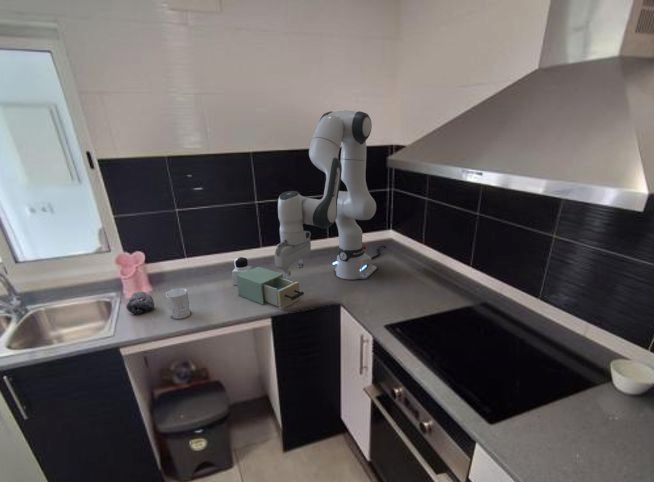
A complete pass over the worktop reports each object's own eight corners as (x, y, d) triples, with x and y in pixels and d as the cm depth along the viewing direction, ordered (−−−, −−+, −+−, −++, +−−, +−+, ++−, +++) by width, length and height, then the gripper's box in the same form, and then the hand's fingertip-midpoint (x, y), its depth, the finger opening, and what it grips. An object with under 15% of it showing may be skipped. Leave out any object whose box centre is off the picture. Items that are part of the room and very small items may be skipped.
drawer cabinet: (284, 294, 168) (282, 274, 164) (263, 304, 160) (260, 283, 155) (260, 285, 177) (258, 266, 172) (239, 295, 168) (236, 275, 163)
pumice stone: (141, 322, 152) (161, 306, 158) (131, 308, 147) (152, 292, 153) (126, 315, 157) (146, 300, 162) (116, 301, 152) (137, 286, 157)
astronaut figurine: (253, 279, 183) (250, 256, 177) (248, 285, 177) (245, 261, 171) (239, 279, 183) (235, 255, 178) (233, 285, 177) (230, 261, 171)
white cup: (171, 312, 154) (165, 290, 150) (191, 309, 157) (186, 286, 152) (171, 321, 148) (165, 298, 143) (192, 317, 150) (187, 294, 146)
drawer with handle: (308, 301, 159) (307, 284, 156) (289, 312, 152) (288, 294, 148) (276, 290, 170) (274, 274, 166) (256, 299, 162) (254, 282, 158)
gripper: (283, 246, 133) (286, 282, 139) (312, 231, 149) (314, 264, 155) (268, 244, 135) (272, 279, 142) (299, 229, 151) (301, 262, 158)
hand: (294, 271), depth 149 cm, fingers open, 8 cm apart
